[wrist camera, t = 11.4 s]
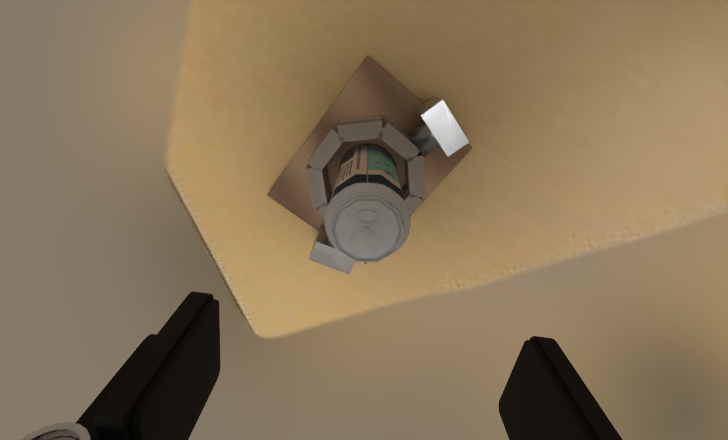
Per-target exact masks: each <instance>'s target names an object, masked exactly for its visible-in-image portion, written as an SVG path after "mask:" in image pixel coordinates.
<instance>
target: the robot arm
mask: <svg viewBox="0 0 728 440" xmlns="http://www.w3.org/2000/svg"><path fill="white" fill-rule="evenodd" d="M219 371H220V330H219V301H218V300H214V299H213V295H212V294H207V293H199V292H191V293H190V294H189V295H188V296H187V297H186V298H185V300H184V301H183V302H182V303H181V305H180V306H179V307H178V309H177V310H176V311H175V312H174V314H173V315H172V316H171V317H170V319H169V320H168V321H167V323H166V324H165V325H164V326H163V328H162V329H161V330H160V331H159V333H158V334H157V335H155V334H151V335H149V336H147V338H146V339H144V340H143V342H142V343H141V344H140V345H139V347H138V348H137V349H136V350H135V351H134V353H133V354H132V355H131V356H130V357H129V359H128V360H127V361H126V362H125V364H124V365H123V366H122V367H121V368H120V370H119V371H118V372H117V373H116V374H115V376H114V377H113V378H112V379H111V381H110V382H109V383H108V384H107V385H106V387H105V388H104V389H103V390H102V392H101V393H100V394H99V395H98V397H97V398H96V399H95V400H94V402H93V403H92V404H91V405H90V406H89V407H88V409H87V410H86V411H85V412H84V413H83V415H82V416H81V417H80V418H79V420H78V421H77V422H76V423H71V422H66V423H56V424H53V425H50V426H46V427H43V428H41V429H39V430H37V431H35V432H33V433H31V434H29V435H27V436H26V437H24V438H23V439H21V440H188V438H189V437H190V435H191V432H192V430H193V428H194V426H195V424H196V422H197V420H198V418H199V416H200V414H201V412H202V410H203V408H204V406H205V403H206V402H207V399H208V397H209V395H210V393H211V391H212V389H213V387H214V385H215V383H216V381H217V378H218V375H219ZM499 412H500V416H501V418H502V421H503V424H504V426H505V429H506V432H507V434H508V437H509V440H622V439H621V437H620V436H619V434H618V433H617V431H616V430H615V428H614V427H613V425H612V424H611V422H610V421H609V419H608V418H607V416H606V415H605V413H604V412H603V410H602V409H601V408H600V406H599V404H598V403H597V401H596V400H595V399H594V397H593V395H592V394H591V392H590V391H589V390H588V388H587V387H586V385H585V384H584V382H583V381H582V379H581V378H580V376H579V375H578V373H577V372H576V370H575V369H574V367H573V366H572V365H571V363H570V361H569V360H568V359H567V357H566V355H565V354H564V352H563V351H562V349H561V348H560V347H559V345H558V344H557V342H556V341H555V340H554V339H552V338H544V337H537V336H533V337H531V338H530V340H526V341H525V342H524V345H523V347H522V349H521V351H520V354H519V356H518V358H517V361H516V363H515V365H514V368H513V370H512V373H511V375H510V377H509V380H508V382H507V384H506V387H505V389H504V391H503V394H502V396H501V398H500V401H499Z"/></svg>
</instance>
